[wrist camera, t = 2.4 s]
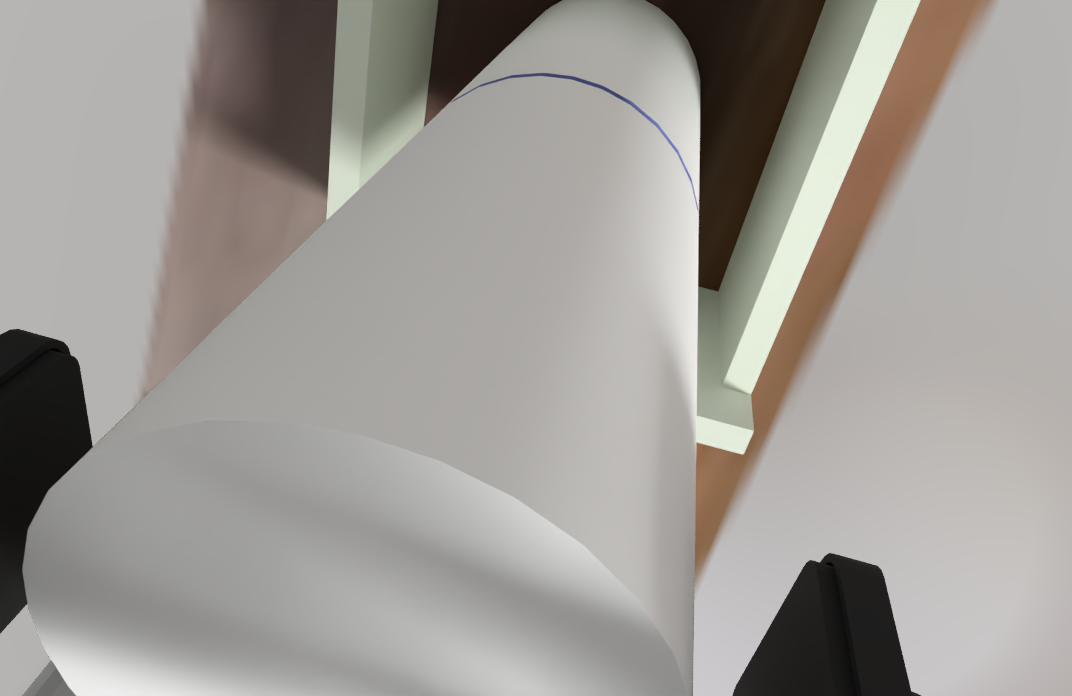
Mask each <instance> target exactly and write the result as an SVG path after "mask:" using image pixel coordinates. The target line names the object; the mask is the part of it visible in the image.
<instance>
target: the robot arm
mask: <svg viewBox="0 0 1072 696" xmlns="http://www.w3.org/2000/svg"><path fill="white" fill-rule="evenodd" d="M91 448H93V446H92V440H91V434H90V428H89V421H88V416H87V409H86V403H85V397H84V391H83V384H82V378H81V372H80V366H79V363H78V360H77V359H76V358H75V357H73V356H71V354H70V351H69V348H68V346H67V345H66V344H65V343H64V342H62V341H59V340H56V339H52V338H49V337H45V336H42V335H38V334H34V333H31V332H27V331H24V330H20V329H14V330H9V331H7V332H5V333H3V334H1V335H0V633H1V632H2V631H3V630H4V629H5V628H6V626H7V625H8V624H9V623H10V622H11V621H12V620H13V619H14V618H15V617H16V615H17V614H18V613H19V612H20V611H21V610H22V609H23V608H24V607H25V605H26V604H27V597H26V591H25V584H24V578H23V571H22V568H23V561H24V554H25V546H26V539H27V532H28V528H29V526H30V524H31V522H32V520H33V519H34V517H35V515H36V513H37V511H38V509H39V507H40V505H41V503H42V501H43V500H44V498H45V496H46V494H47V492H48V490H49V489H50V488H51V487H52V486H53V485H54V484H55V483H56V482H57V481H59V480H60V479H61V478H62V477H63V476H64V475H65V474H66V473H67V472H68V471H69V470H70V469H71V468H72V467H73V466H74V465H75V464H76V463H77V462H78V461H79V460H80V459H81V458H82V457H83V456H84V455H85V454H86V453H87V452H88V451H89V450H90V449H91ZM22 696H76V695H75V694H74V693H73V691H72V690H71V689H70V688H69V687H68V685H67V684H66V682H65V680H64V679H63V677H62V676H61V674H60V672H59V671H58V669H57V668H56V666H55V665H54V663H53V661H52V660H51V661H50V662H49V663H48V665H47V666H46V667H45V668H44V670H43V671H42V672H41V673H40V675H39V676H38V677H37V678H36V679H35V681H34V682H33V683H32V684H31V686H30V687H29V688H28V689H27V690H26V692H25V693H24V694H23V695H22ZM733 696H921V695H919V694H916V693H914V692H911V689H910V684H909V680H908V676H907V672H906V668H905V663H904V660H903V655H902V651H901V646H900V642H899V638H898V634H897V630H896V625H895V621H894V617H893V613H892V608H891V604H890V600H889V596H888V592H887V587H886V583H885V579H884V576H883V573H882V570H881V569H880V568H879V567H878V566H876V565H872V564H868V563H865V562H861V561H858V560H854V559H851V558H847V557H843V556H840V555H836V554H831V553H829V554H827V555H826V556H825V557H824V558H823V559H822V561H821V562H820V563H819V562H816V561H811V560H810V561H808V562H807V563H806V564H805V566H804V567H803V569H802V571H801V573H800V574H799V576H798V578H797V580H796V582H795V583H794V585H793V587H792V589H791V590H790V592H789V594H788V595H787V597H786V599H785V601H784V602H783V604H782V606H781V608H780V610H779V611H778V613H777V615H776V616H775V618H774V620H773V622H772V624H771V625H770V627H769V629H768V631H767V633H766V634H765V636H764V638H763V639H762V641H761V643H760V645H759V646H758V648H757V650H756V652H755V653H754V655H753V657H752V659H751V661H750V662H749V664H748V666H747V667H746V669H745V671H744V673H743V674H742V676H741V678H740V680H739V682H738V683H737V685H736V687H735V689H734V693H733Z"/></svg>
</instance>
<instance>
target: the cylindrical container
mask: <svg viewBox="0 0 1072 696" xmlns="http://www.w3.org/2000/svg"><path fill="white" fill-rule="evenodd" d="M699 170H700V76H699V71H698V66H697V61H696V58H695V56H694V53H693V51H692V49H691V46H690V44H689V42H688V40H687V38H686V37H685V35H684V34H683V33H682V31H681V30H680V29H679V27H678V26H677V24H676V23H675V22H674V21H673V20H672V19H671V18H670V17H669V16H667V15H666V14H665V13H664V12H663V11H662V10H661V9H659V8H658V7H656V6H654V5H653V4H651V3H649V2H647V1H646V0H562V1H560V2H559V3H557V4H555V5H553V6H552V7H550V8H548V9H547V10H546V11H545V12H543V13H542V14H541V15H540V16H539V17H538V18H537V19H536V20H535V21H534V22H533V23H531V24H530V25H529V26H528V27H527V28H526V29H525V30H524V31H523V32H522V33H521V34H520V35H519V36H518V37H517V38H516V39H515V40H514V41H512V42H511V43H510V44H509V45H508V46H507V47H506V48H505V49H504V50H503V51H502V52H501V53H500V54H499V55H498V56H497V57H496V58H495V59H494V60H493V61H492V62H491V63H490V64H489V65H488V66H487V67H485V68H484V69H483V70H482V71H481V72H480V73H479V74H478V75H477V76H476V77H475V78H474V79H473V80H472V81H471V82H470V83H469V84H468V85H467V86H466V87H465V88H464V89H463V90H462V91H461V92H460V93H459V94H458V95H457V96H456V97H455V98H454V99H453V100H452V101H451V102H450V103H449V104H448V105H446V106H445V107H444V108H443V109H442V110H441V111H440V112H439V113H438V114H437V115H436V116H435V117H434V118H433V119H432V120H431V121H430V122H429V123H428V124H427V125H426V126H425V127H424V128H423V129H422V130H421V131H420V132H419V133H418V134H416V135H415V136H414V137H413V138H412V139H411V140H410V141H409V142H408V143H407V144H406V145H405V146H404V147H403V148H402V149H401V150H400V151H399V152H398V153H397V154H396V155H395V156H393V157H392V158H391V159H390V160H389V161H388V162H387V163H386V164H385V165H384V166H383V167H382V168H381V169H380V170H379V171H378V172H377V173H376V174H375V175H374V176H373V177H372V178H370V179H369V180H368V181H367V182H366V183H365V184H364V185H363V186H362V187H361V188H360V189H359V190H358V191H357V192H356V193H355V194H354V195H353V196H352V197H351V198H350V199H348V200H347V201H346V202H345V203H344V204H343V205H342V206H341V207H340V208H339V209H338V210H337V211H336V212H335V213H334V214H333V215H332V216H331V217H330V218H329V219H328V220H327V221H325V222H324V223H323V224H322V225H321V226H320V227H319V228H318V229H317V230H316V231H315V232H314V233H313V234H312V235H311V236H310V237H309V238H308V239H307V240H306V241H305V242H304V243H303V244H302V245H301V246H300V247H299V248H298V249H297V250H296V251H295V252H294V253H292V254H291V255H290V256H289V257H288V258H287V259H286V260H285V261H284V262H283V263H282V264H281V265H280V266H279V267H278V268H277V269H276V270H275V271H274V272H273V273H272V274H271V275H270V276H269V277H268V278H267V279H266V280H265V281H264V282H263V283H262V284H261V285H260V286H258V287H257V288H256V289H255V290H254V291H253V292H252V293H251V294H250V295H249V296H248V297H247V298H246V299H245V300H244V301H243V302H242V303H241V304H240V305H239V306H238V307H237V308H236V309H235V310H234V311H233V312H232V313H231V314H230V315H229V316H228V317H227V318H225V319H224V320H223V321H222V322H221V323H220V324H219V325H218V326H217V327H216V328H215V329H214V330H213V331H212V332H211V333H210V334H209V335H208V336H207V337H206V338H205V339H204V340H203V341H202V342H201V343H200V344H199V345H198V346H197V347H196V348H195V349H194V350H193V351H191V352H190V353H189V354H188V355H187V356H186V357H185V358H184V359H183V360H182V361H181V362H180V363H179V364H178V365H177V366H176V367H175V368H174V369H173V370H172V371H171V372H170V373H169V374H168V375H167V376H166V377H165V378H164V379H163V380H162V381H161V382H160V383H158V384H157V385H156V386H155V387H154V388H153V389H152V390H151V391H150V392H149V393H148V394H147V395H146V396H145V397H144V398H143V399H142V400H141V401H140V402H139V403H138V404H137V405H136V406H135V407H134V408H133V409H132V410H131V411H130V412H129V413H128V414H127V415H126V416H124V418H122V419H121V420H120V421H119V423H117V424H116V425H115V426H114V427H113V428H112V429H111V430H110V431H109V432H108V433H107V434H106V435H105V436H104V437H103V438H102V439H101V440H100V441H99V442H98V443H97V444H96V445H95V446H94V447H93V448H91V449H90V450H89V451H88V452H87V453H86V454H85V455H84V456H83V457H82V458H81V459H80V460H79V461H78V462H77V463H76V464H75V465H74V466H73V467H72V468H71V469H70V470H69V471H68V472H67V473H66V474H65V475H64V476H63V477H62V478H61V479H60V480H59V481H57V482H56V483H55V484H54V485H53V486H52V487H51V488H50V489H49V490H48V492H47V494H46V496H45V498H44V500H43V501H42V503H41V505H40V507H39V509H38V511H37V513H36V515H35V517H34V519H33V520H32V522H31V524H30V526H29V528H28V532H27V539H26V546H25V554H24V561H23V568H22V571H23V578H24V584H25V591H26V597H27V604H28V609H29V612H30V614H31V617H32V619H33V622H34V624H35V627H36V629H37V632H38V634H39V637H40V639H41V642H42V644H43V647H44V649H45V650H46V652H47V654H48V655H49V657H50V658H51V660H52V661H53V663H54V665H55V666H56V668H57V669H58V671H59V672H60V674H61V676H62V677H63V679H64V680H65V682H66V684H67V685H68V687H69V688H70V689H71V690H72V691H73V693H74V694H75V695H76V696H693V640H694V567H695V493H696V419H697V337H698V238H699Z"/></svg>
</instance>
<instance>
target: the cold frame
mask: <svg viewBox="0 0 1072 696" xmlns="http://www.w3.org/2000/svg"><path fill="white" fill-rule="evenodd" d="M919 3H920V0H826V1H825V4H824V6H823V9H822V12H821V14H820V17H819V20H818V23H817V25H816V28H815V31H814V33H813V36H812V39H811V42H810V44H809V47H808V50H807V52H806V55H805V58H804V60H803V63H802V66H801V69H800V71H799V74H798V77H797V79H796V82H795V85H794V88H793V90H792V93H791V96H790V98H789V101H788V104H787V107H786V109H785V112H784V115H783V117H782V120H781V123H780V126H779V128H778V131H777V134H776V136H775V139H774V142H773V145H772V147H771V150H770V153H769V155H768V158H767V161H766V164H765V166H764V169H763V172H762V174H761V177H760V180H759V183H758V185H757V188H756V191H755V193H754V196H753V199H752V202H751V204H750V207H749V210H748V212H747V215H746V218H745V220H744V223H743V226H742V229H741V231H740V234H739V237H738V239H737V242H736V245H735V248H734V250H733V253H732V256H731V258H730V261H729V264H728V267H727V269H726V272H725V275H724V277H723V280H722V283H721V286H720V288H719V291H714V290H710V289H706V288H703V287H699V286H698V337H697V419H696V442H698V443H702V444H705V445H709V446H713V447H717V448H720V449H724V450H728V451H731V452H735V453H739V454H744V452H745V450H746V448H747V445H748V443H749V441H750V439H751V436H752V434H753V432H754V426H753V415H752V403H751V393H752V391H753V388H754V386H755V384H756V381H757V379H758V377H759V375H760V372H761V370H762V368H763V365H764V363H765V361H766V358H767V356H768V354H769V351H770V349H771V347H772V344H773V342H774V340H775V337H776V335H777V333H778V330H779V328H780V326H781V323H782V321H783V319H784V316H785V314H786V312H787V309H788V307H789V305H790V302H791V300H792V298H793V296H794V293H795V291H796V289H797V286H798V284H799V282H800V279H801V277H802V275H803V272H804V270H805V268H806V265H807V263H808V261H809V258H810V256H811V254H812V251H813V249H814V247H815V244H816V242H817V240H818V237H819V235H820V233H821V230H822V228H823V226H824V223H825V221H826V219H827V217H828V214H829V212H830V210H831V207H832V205H833V203H834V200H835V198H836V196H837V193H838V191H839V189H840V186H841V184H842V182H843V179H844V177H845V175H846V172H847V170H848V168H849V165H850V163H851V161H852V158H853V156H854V154H855V151H856V149H857V147H858V144H859V142H860V140H861V137H862V135H863V133H864V131H865V128H866V126H867V124H868V121H869V119H870V117H871V114H872V112H873V110H874V107H875V105H876V103H877V100H878V98H879V96H880V93H881V91H882V89H883V86H884V84H885V82H886V79H887V77H888V75H889V72H890V70H891V68H892V65H893V63H894V61H895V58H896V56H897V54H898V52H899V49H900V47H901V45H902V42H903V40H904V38H905V35H906V33H907V31H908V28H909V26H910V24H911V21H912V19H913V17H914V14H915V12H916V10H917V7H918V5H919ZM437 9H438V0H338V10H337V29H336V49H335V68H334V87H333V106H332V125H331V145H330V164H329V183H328V202H327V220H328V219H329V218H330V217H331V216H332V215H333V214H334V213H335V212H336V211H337V210H338V209H339V208H340V207H341V206H342V205H343V204H344V203H345V202H346V201H347V200H348V199H350V198H351V197H352V196H353V195H354V194H355V193H356V192H357V191H358V190H359V189H360V188H361V187H362V186H363V185H364V184H365V183H366V182H367V181H368V180H369V179H370V178H372V177H373V176H374V175H375V174H376V173H377V172H378V171H379V170H380V169H381V168H382V167H383V166H384V165H385V164H386V163H387V162H388V161H389V160H390V159H391V158H392V157H393V156H395V155H396V154H397V153H398V152H399V151H400V150H401V149H402V148H403V147H404V146H405V145H406V144H407V143H408V142H409V141H410V140H411V139H412V138H413V137H414V136H415V135H416V134H418V133H419V132H420V131H421V130H422V129H423V128H424V120H425V111H426V103H427V94H428V85H429V77H430V68H431V60H432V51H433V43H434V34H435V26H436V17H437Z"/></svg>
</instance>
